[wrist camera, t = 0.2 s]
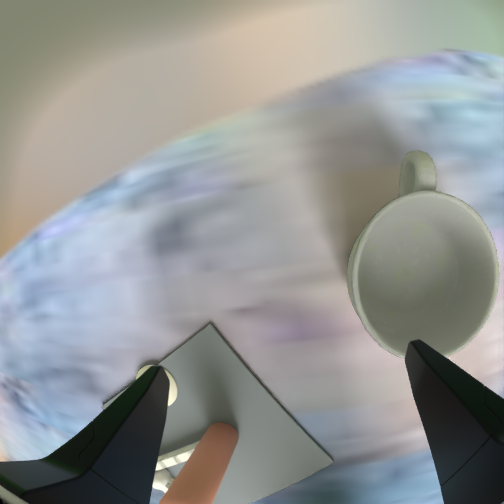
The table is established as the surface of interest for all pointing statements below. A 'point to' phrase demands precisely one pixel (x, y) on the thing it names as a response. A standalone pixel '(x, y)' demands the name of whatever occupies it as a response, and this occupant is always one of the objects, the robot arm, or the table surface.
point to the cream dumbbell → (162, 480)
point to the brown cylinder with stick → (200, 466)
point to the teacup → (423, 267)
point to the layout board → (233, 420)
